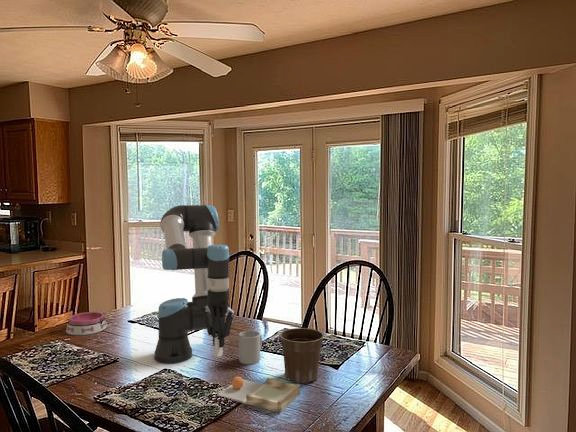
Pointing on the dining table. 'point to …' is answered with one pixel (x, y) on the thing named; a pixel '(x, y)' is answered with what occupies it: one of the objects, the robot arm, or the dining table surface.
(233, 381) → the ball
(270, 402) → the fence
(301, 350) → the plant pot
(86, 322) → the dog bowl
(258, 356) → the mug
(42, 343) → the dining table surface
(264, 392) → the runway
